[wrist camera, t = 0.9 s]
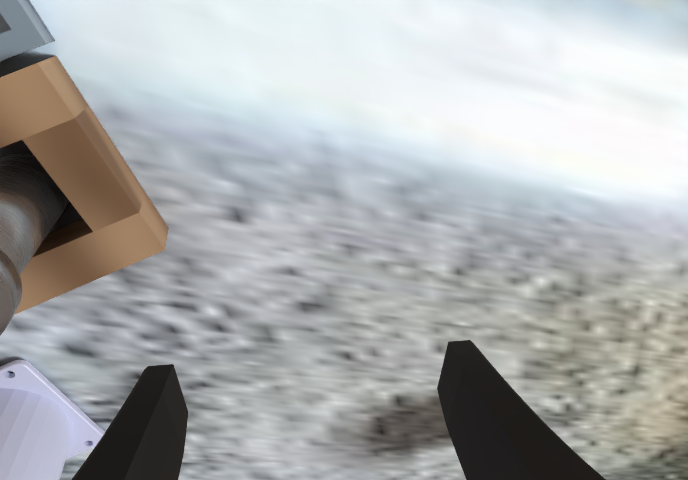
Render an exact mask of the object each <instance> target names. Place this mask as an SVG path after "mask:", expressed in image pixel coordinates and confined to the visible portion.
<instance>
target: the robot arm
mask: <svg viewBox="0 0 688 480" xmlns="http://www.w3.org/2000/svg"><path fill="white" fill-rule="evenodd" d="M8 371H12V372H14V373H9V372H8ZM437 390H438V394H439V398H440V402H441V406H442V410H443V414H444V418H445V422H446V426H447V428H448V431H449V434H450V437H451V439H452V442H453V445H454V447H455V450H456V453H457V456H458V458H459V461H460V464H461V466H462V469H463V471H464V474H465V477H466V479H467V480H606V479H604V478H603V477H602V476H601V475H600V474H599V473H598V472H596V471H595V470H594V469H593V468H592V467H591V466H590V465H588V464H587V463H586V462H585V461H584V460H583V459H582V458H581V457H580V456H578V455H577V454H576V453H575V452H574V451H573V450H572V449H571V448H570V447H569V446H568V445H567V444H566V443H565V442H564V441H562V440H561V439H560V438H559V437H558V436H557V435H556V434H555V433H554V432H553V431H552V430H551V429H550V428H549V427H548V426H547V425H546V424H545V423H544V422H543V421H542V420H541V419H540V418H539V417H538V415H537V414H536V413H535V412H534V411H533V410H532V409H531V408H530V407H529V406H528V405H527V404H526V403H525V402H524V401H523V399H522V398H521V397H520V396H519V395H518V394H517V393H516V392H515V391H514V390H513V389H512V387H511V386H510V385H509V384H508V383H507V382H506V381H505V380H504V378H503V377H502V376H501V375H500V374H499V373H498V372H497V370H496V369H495V368H494V367H493V366H492V365H491V363H490V362H489V361H488V360H487V359H486V358H485V356H484V355H483V354H482V353H481V352H480V350H479V349H478V348H477V347H476V346H475V345H474V343H473V342H472V341H471V340H465V341H453V342H448V346H447V350H446V354H445V358H444V363H443V367H442V371H441V375H440V379H439V384H438V388H437ZM187 418H188V410H187V407H186V404H185V400H184V397H183V394H182V391H181V388H180V384H179V381H178V378H177V375H176V372H175V368H174V365H173V364H170V365H158V366H148V367H147V368H146V369H145V370H144V371H143V373H142V375H141V377H140V378H139V380H138V382H137V383H136V385H135V387H134V388H133V390H132V392H131V393H130V395H129V396H128V398H127V400H126V401H125V403H124V404H123V406H122V408H121V409H120V411H119V412H118V414H117V415H116V417H115V418H114V420H113V422H112V423H111V424H110V426H109V427H108V429H107V430H106V432H104V431H103V430H102V429H101V428H100V427H98V426H97V425H96V424H95V423H94V422H93V421H92V420H91V419H90V418H89V417H88V416H87V415H85V414H84V413H83V412H82V411H81V410H80V409H79V408H78V407H77V406H76V405H75V404H73V403H72V402H71V401H70V400H69V399H68V398H67V397H66V396H65V395H64V394H63V393H62V392H60V391H59V390H58V389H57V388H56V387H55V386H54V385H53V384H52V383H51V382H50V381H48V380H47V379H46V378H45V377H44V376H43V375H42V374H41V373H40V372H39V371H38V370H37V369H35V368H34V367H33V366H32V365H31V364H30V363H29V362H27V361H25V360H15V361H12V362H10V363H8V364H5V365H3V366H1V367H0V480H59V479H60V476H61V473H62V470H63V466H64V463H65V460H66V459H68V458H71V457H73V456H75V455H77V454H79V453H82V452H84V451H86V450H88V449H90V448H93V447H95V446H96V447H95V448H94V450H93V451H92V452H91V454H90V455H89V457H88V458H87V460H86V461H85V462H84V464H83V465H82V466H81V468H80V469H79V470H78V472H77V473H76V474H75V476H74V477H73V478H72V480H178V477H179V472H180V468H181V463H182V458H183V454H184V446H185V437H186V428H187Z"/></svg>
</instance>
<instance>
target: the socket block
mask: <svg viewBox="0 0 688 480" xmlns="http://www.w3.org/2000/svg"><path fill="white" fill-rule="evenodd" d="M19 140H23V141H24V143H25V144H26V145H27V147H28V148H29V149H30V150H31V152H32V153H33V154H34V156H35V157H36V158H37V159H38V161H39V162H40V163H41V165H42V166H43V167H44V169H45V170H46V171H47V172H48V174H49V175H50V176H51V178H52V179H53V180H54V182H55V183H56V184H57V185H58V187H59V188H60V189H61V191H62V192H63V193H64V194H65V196H66V197H67V198H68V200H69V201H70V202H71V204H72V205H73V206H74V207H75V209H76V210H77V211H78V213H79V214H80V215H81V217H82V218H83V219H82V220H79V221H77V222H75V223H72V224H70V225H67V226H65V227H63V228H60V229H58V230H55V231H53V232H51V233H48V235H47V236H46V238H45V239H44V241H43V242H42V243H41V245H40V246H39V248H38V249H37V251H36V252H35V254H34V255H33V257H32V258H31V260H30V261H29V263H28V264H27V266H26V267H25V269H24V270H23V271H22V273H21V274H20V278H21V282H22V299H21V302H20V305H19V307H18V309H17V310H16V312H15V314H17V313H19V312H21V311H24V310H26V309H28V308H31V307H33V306H35V305H38V304H40V303H42V302H45V301H47V300H49V299H52V298H54V297H56V296H59V295H61V294H63V293H66V292H68V291H70V290H73V289H75V288H77V287H80V286H82V285H84V284H87V283H89V282H91V281H94V280H96V279H98V278H101V277H103V276H105V275H108V274H110V273H112V272H115V271H117V270H119V269H122V268H124V267H126V266H129V265H131V264H133V263H136V262H138V261H140V260H143V259H145V258H147V257H150V256H152V255H154V254H157V253H159V252H161V251H164V250H165V246H166V240H167V234H168V226H167V225H166V223H165V222H164V220H163V219H162V217H161V216H160V214H159V213H158V211H157V209H156V208H155V206H154V205H153V203H152V202H151V200H150V199H149V197H148V196H147V194H146V193H145V191H144V190H143V188H142V186H141V185H140V183H139V182H138V180H137V179H136V177H135V176H134V174H133V173H132V171H131V170H130V168H129V167H128V165H127V164H126V162H125V160H124V159H123V157H122V156H121V154H120V153H119V151H118V150H117V148H116V147H115V145H114V144H113V142H112V141H111V139H110V137H109V136H108V134H107V133H106V131H105V130H104V128H103V127H102V125H101V124H100V122H99V121H98V119H97V118H96V116H95V115H94V113H93V111H92V110H91V108H90V107H89V105H88V104H87V102H86V101H85V99H84V98H83V96H82V95H81V93H80V92H79V90H78V88H77V87H76V85H75V84H74V82H73V81H72V79H71V78H70V76H69V75H68V73H67V72H66V70H65V69H64V67H63V66H62V64H61V62H60V61H59V59H58V58H57V56H54V57H51V58H49V59H46V60H43V61H41V62H38V63H36V64H33V65H30V66H28V67H25V68H23V69H20V70H18V71H15V72H13V73H10V74H8V75H5V76H3V77H0V148H2V147H4V146H7V145H9V144H12V143H14V142H17V141H19Z"/></svg>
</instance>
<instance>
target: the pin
mask: <svg viewBox="0 0 688 480" xmlns="http://www.w3.org/2000/svg"><path fill="white" fill-rule="evenodd" d="M68 202H69V200H68V198H67V197H66V196H65V194H64V193H63V192H62V191H61V189H60V188H59V187H58V185H57V184H56V183H55V182H54V180H53V179H52V178H51V176H50V175H49V174H48V172H47V171H46V170H45V169H44V167H43V166H42V165H41V163H40V162H39V161H38V159H37V158H36V157H35V156H32V155H28V154H10V155H5V156H2V157H0V335H1V334H2V333H3V331H4V330H5V328H6V327H7V325H8V324H9V322H10V320H11V319H12V317H13V315H14V314H15V312H16V310H17V309H18V307H19V305H20V302H21V299H22V282H21V278H20V274H21V273H22V271H23V270H24V269H25V267H26V266H27V264H28V263H29V261H30V260H31V258H32V257H33V255H34V254H35V252H36V251H37V249H38V248H39V246H40V245H41V243H42V242H43V241H44V239H45V238H46V236H47V235H48V233H49V232H50V230H51V229H52V227H53V226H54V224H55V223H56V221H57V220H58V218H59V217H60V215H61V214H62V212H63V211H64V210H65V208H66V206H67V204H68Z"/></svg>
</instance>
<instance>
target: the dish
mask: <svg viewBox="0 0 688 480" xmlns="http://www.w3.org/2000/svg"><path fill="white" fill-rule="evenodd" d="M53 41H55V40H54V38H53V37H52V35H51V34H50V32H49V31H48V29H47V27H46V26H45V24H44V23H43V21H42V20H41V18H40V17H39V15H38V13H37V12H36V10H35V9H34V7H33V6H32V4H31V3H30V1H29V0H0V62H2V61H4V60H7V59H9V58H12V57H15V56H17V55H20V54H22V53H25V52H27V51H30V50H32V49H35V48H37V47H40V46H43V45H45V44H48V43H50V42H53Z"/></svg>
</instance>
